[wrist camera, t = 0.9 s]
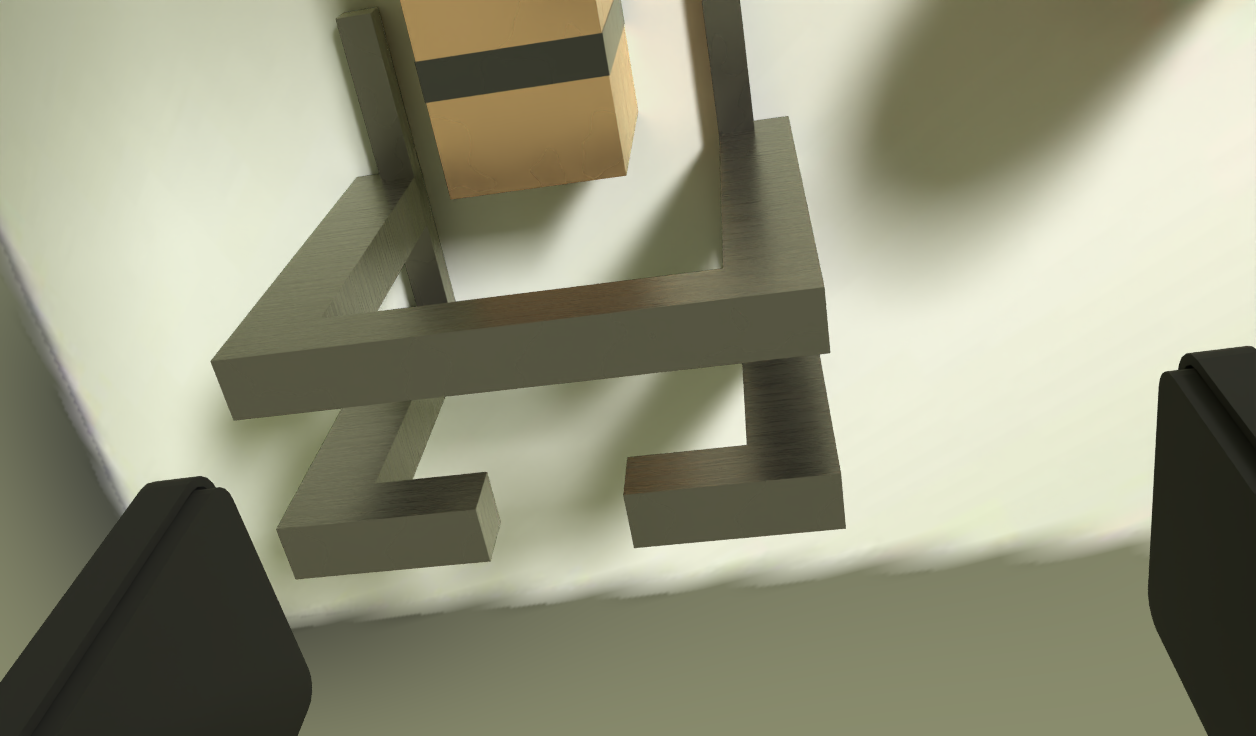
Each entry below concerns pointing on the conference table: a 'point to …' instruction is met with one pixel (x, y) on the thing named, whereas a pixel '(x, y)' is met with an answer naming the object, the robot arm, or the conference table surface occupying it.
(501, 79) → the long brass-colored rectangular prism
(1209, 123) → the conference table surface
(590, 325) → the gray arch posts
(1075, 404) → the conference table surface
